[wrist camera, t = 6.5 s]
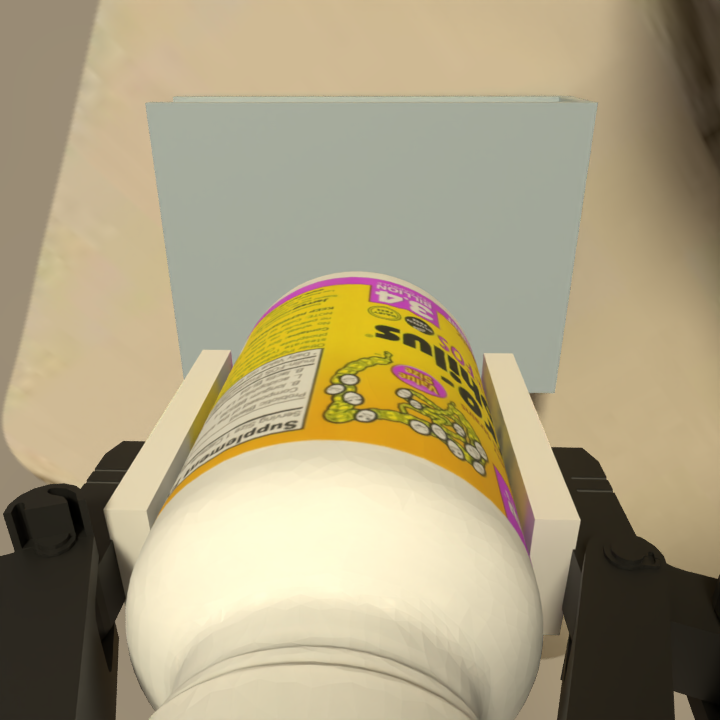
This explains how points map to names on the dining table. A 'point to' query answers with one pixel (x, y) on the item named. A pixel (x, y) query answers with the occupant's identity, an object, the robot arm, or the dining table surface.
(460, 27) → the dining table surface
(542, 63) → the dining table surface
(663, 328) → the dining table surface
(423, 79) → the dining table surface
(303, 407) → the supplement bottle
